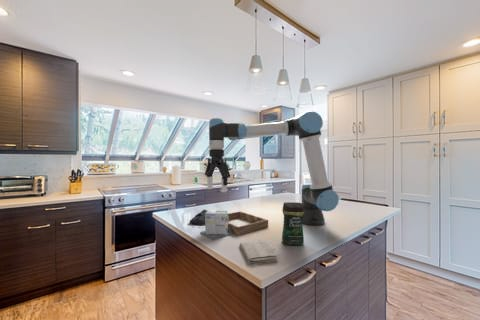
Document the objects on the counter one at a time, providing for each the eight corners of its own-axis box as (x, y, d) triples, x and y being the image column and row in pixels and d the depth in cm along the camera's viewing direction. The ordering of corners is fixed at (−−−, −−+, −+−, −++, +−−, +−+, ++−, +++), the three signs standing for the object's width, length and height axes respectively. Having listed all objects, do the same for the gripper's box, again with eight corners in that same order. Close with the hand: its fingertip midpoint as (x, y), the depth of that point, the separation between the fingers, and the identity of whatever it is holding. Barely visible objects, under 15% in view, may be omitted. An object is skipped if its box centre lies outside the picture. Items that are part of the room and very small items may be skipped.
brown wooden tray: (268, 227, 123) (268, 219, 123) (238, 235, 109) (238, 227, 109) (240, 217, 143) (240, 211, 143) (211, 223, 129) (211, 216, 129)
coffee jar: (283, 246, 96) (283, 204, 96) (280, 239, 104) (280, 200, 104) (305, 246, 96) (305, 204, 96) (301, 239, 104) (301, 200, 103)
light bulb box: (227, 230, 115) (227, 210, 115) (226, 235, 108) (226, 213, 108) (208, 230, 116) (208, 209, 116) (204, 234, 109) (204, 212, 109)
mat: (232, 234, 111) (232, 233, 111) (212, 239, 103) (212, 238, 103) (219, 228, 120) (219, 227, 120) (200, 233, 113) (200, 231, 113)
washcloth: (249, 266, 79) (249, 258, 79) (238, 247, 96) (238, 240, 96) (280, 263, 81) (280, 254, 81) (264, 244, 99) (264, 237, 99)
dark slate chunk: (184, 225, 127) (184, 217, 127) (197, 215, 149) (197, 208, 149) (210, 226, 125) (210, 218, 125) (219, 216, 147) (219, 209, 147)
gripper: (198, 149, 119) (198, 188, 119) (224, 147, 99) (224, 194, 100) (210, 150, 124) (210, 187, 124) (237, 148, 104) (237, 192, 104)
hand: (216, 190), depth 112 cm, fingers open, 13 cm apart
